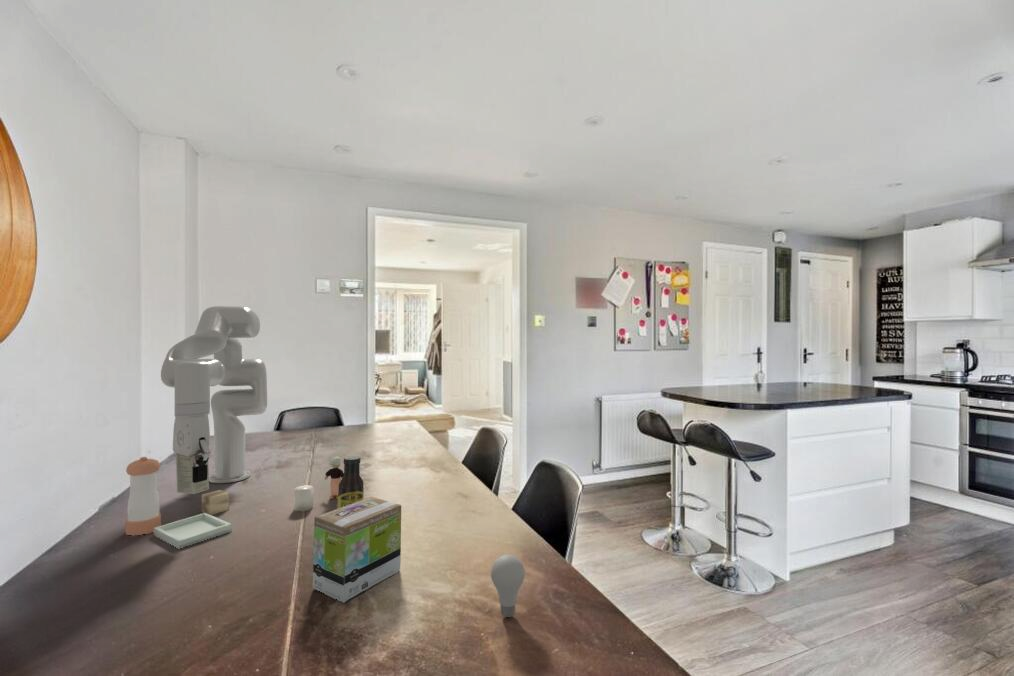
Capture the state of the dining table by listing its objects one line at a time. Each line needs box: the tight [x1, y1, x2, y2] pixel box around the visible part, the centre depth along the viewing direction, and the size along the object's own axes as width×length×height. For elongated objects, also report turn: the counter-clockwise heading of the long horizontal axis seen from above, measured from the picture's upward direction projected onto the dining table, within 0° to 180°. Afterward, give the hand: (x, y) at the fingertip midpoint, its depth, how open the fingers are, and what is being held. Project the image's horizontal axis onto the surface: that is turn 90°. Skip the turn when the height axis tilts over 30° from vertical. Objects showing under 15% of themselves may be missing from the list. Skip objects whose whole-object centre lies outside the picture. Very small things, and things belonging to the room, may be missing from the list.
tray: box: [153, 512, 232, 550], centre depth 119 cm, size 14×12×2 cm
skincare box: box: [175, 451, 210, 495], centre depth 119 cm, size 6×4×12 cm
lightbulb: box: [490, 554, 526, 618], centre depth 84 cm, size 6×6×11 cm
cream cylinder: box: [294, 484, 314, 512], centre depth 137 cm, size 5×5×6 cm
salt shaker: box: [125, 456, 162, 536], centre depth 121 cm, size 7×7×19 cm
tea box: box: [312, 496, 402, 604], centre depth 97 cm, size 15×10×15 cm, turn 148°
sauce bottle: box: [336, 455, 365, 509], centre depth 118 cm, size 7×6×20 cm
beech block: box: [201, 489, 230, 516], centre depth 135 cm, size 5×5×5 cm
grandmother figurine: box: [323, 456, 344, 500], centre depth 146 cm, size 8×4×13 cm, turn 84°
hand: (192, 478), depth 119 cm, fingers closed on skincare box, 6 cm apart
